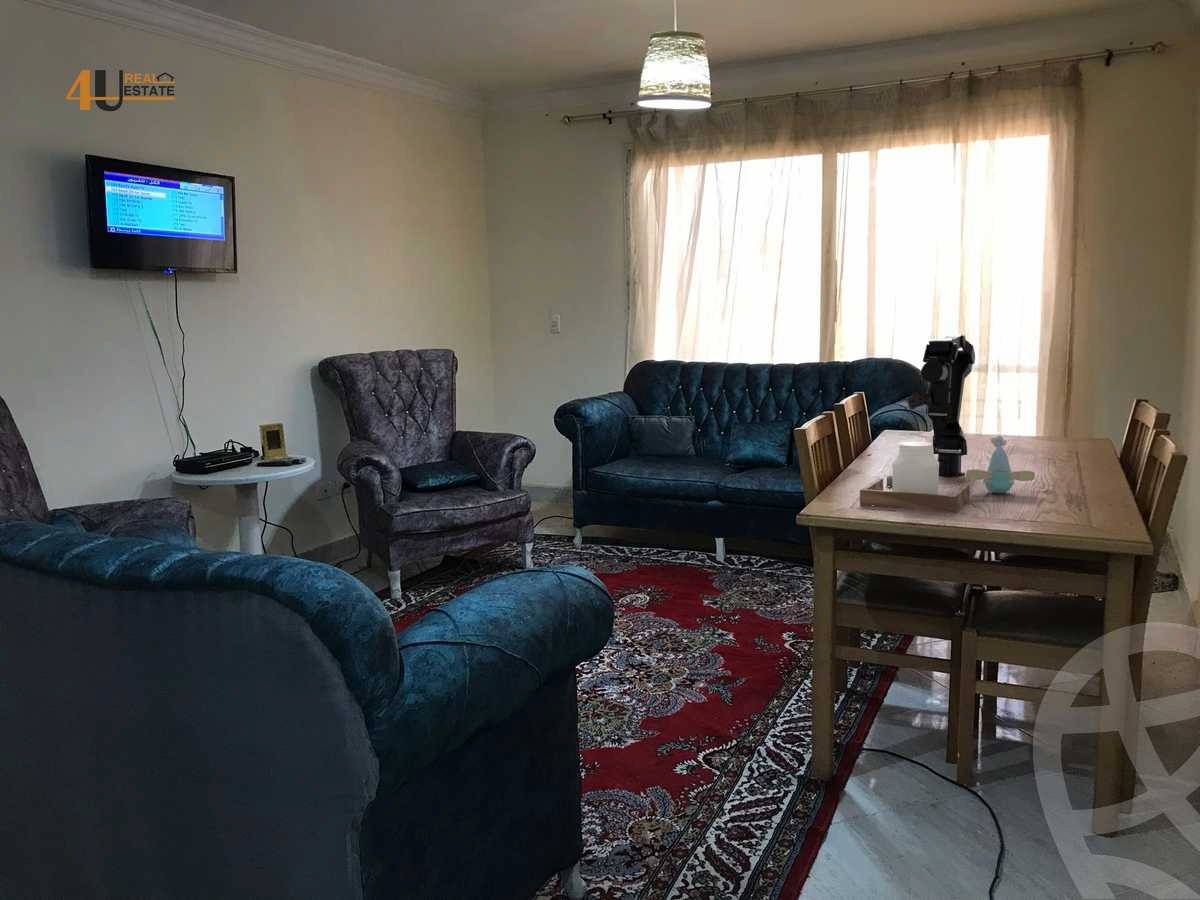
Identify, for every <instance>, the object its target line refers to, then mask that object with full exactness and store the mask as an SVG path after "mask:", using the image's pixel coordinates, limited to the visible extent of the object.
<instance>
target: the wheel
mask: <svg viewBox="0 0 1200 900" xmlns="http://www.w3.org/2000/svg"><path fill="white" fill-rule="evenodd" d="M892 478H893V474H892V475H888V476H886V487H887V486H890V487H889V488H891V487H892Z"/></svg>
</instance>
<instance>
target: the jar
mask: <svg viewBox="0 0 1200 900" xmlns="http://www.w3.org/2000/svg"><path fill="white" fill-rule="evenodd" d="M898 445H899V447H898V450H899V451H898V453H897V455H896V456H895V457H894V458H893V460H892V463H891V466H892V475H893V478H892V488H891V491H895V492H909V493H923V494H937V495H939V477H940V475H939V462H938V458H937V457H936V456H935V454H933V442H929V441H928V442H927V441H903V442H899V444H898Z"/></svg>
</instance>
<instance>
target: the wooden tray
mask: <svg viewBox="0 0 1200 900" xmlns="http://www.w3.org/2000/svg"><path fill="white" fill-rule="evenodd" d="M970 490H971V484H970V483H963V485H962V486H961V487H959V488H958V489H957V490H956V491H955V492H954V493H953V494H951V495H950V494H949V495H948V494H938V495H937V494H923V493H909V492H895V491H892V490H884V477H883V478H882V477H878V478H876V479H875V480H874V481H872V482H870V483H868V484H867V485H865V486H864V487H862V488H861V489H859V505H860V504H862V505H861V506H863V505H874V506H873V507H875V506H882V507H881V508H888V507H892V508H891V509H900V508H904V510H913V509H918V510H917V511H925V510H928V512H939V513H940V512H941V513H951V514H952V513H953V514H956V513H957V512H958V511H959V510H961V508H962V507H963V506H964V505H965V504H967V502H968V501H969V500H970V495H971V494H970Z"/></svg>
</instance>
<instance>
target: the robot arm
mask: <svg viewBox="0 0 1200 900" xmlns="http://www.w3.org/2000/svg"><path fill="white" fill-rule="evenodd" d="M924 350H925V351H924V355H923V359H922V363H924V364H923V366H921V369H920V375H921V377H922V379H923V380H924V381H926V382H928V387H927V389H926V393H922V394H919V392H917V391H916V392H913V393H911V397H910V398H907V399H906V403H907V405H908V408H909V411H911V410H915V409H916V408H919V407H923V406H925V405H926V407H925V413H924V414H925V415H926V417H927V419H929V420H930V421H931V424H932V433H933V435H932V444H933V450H932V451H933V454H934V455H937V460H938V462H939V476H943V475H945V476H944V477H949V476H950V477H951V476H952V477H958V476H964V475H965V476H966V472H962V457H963V456H968V442H967V439H966V438H965V434H964V430H963V429H962V426H961V425H960V417H961V410H962V401H963V396H964V395H963V394H964V386H965V380H966V378H967V377H968V376H969V374H971V372H972V369H973V365H975V363H976V353H975V348H974V345H973V344H972V343H970V342H969V341H968V340H967V338H966V335H965V334H962V333H952V334H951V333H950V334H947V335H946V336H945V337H943V338H941V339H940V338H935V339H933V338H931V339H930V340H928V343H926V345H925V349H924ZM950 477H949V478H950Z"/></svg>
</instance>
